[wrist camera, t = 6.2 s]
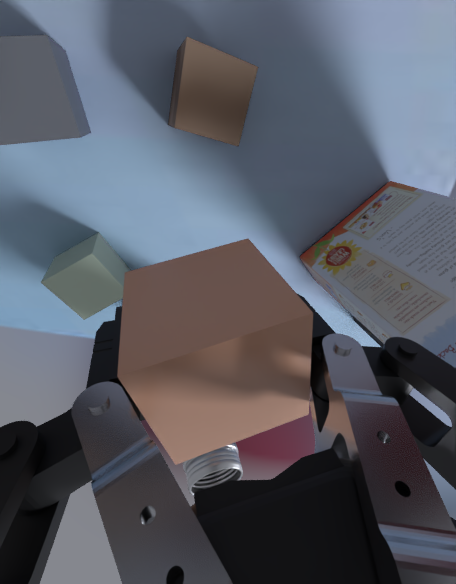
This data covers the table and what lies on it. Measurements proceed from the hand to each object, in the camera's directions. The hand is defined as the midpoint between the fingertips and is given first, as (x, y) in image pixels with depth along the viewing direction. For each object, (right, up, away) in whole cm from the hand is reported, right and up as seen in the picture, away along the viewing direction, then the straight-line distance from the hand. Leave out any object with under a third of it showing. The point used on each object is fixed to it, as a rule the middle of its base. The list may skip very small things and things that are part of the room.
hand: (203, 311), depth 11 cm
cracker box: (+17, +8, +24) cm, 30 cm away
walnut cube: (-1, +17, +11) cm, 21 cm away
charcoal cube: (-13, +15, +8) cm, 22 cm away
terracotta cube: (0, 0, 0) cm, 1 cm away
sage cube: (-13, +4, +16) cm, 21 cm away
